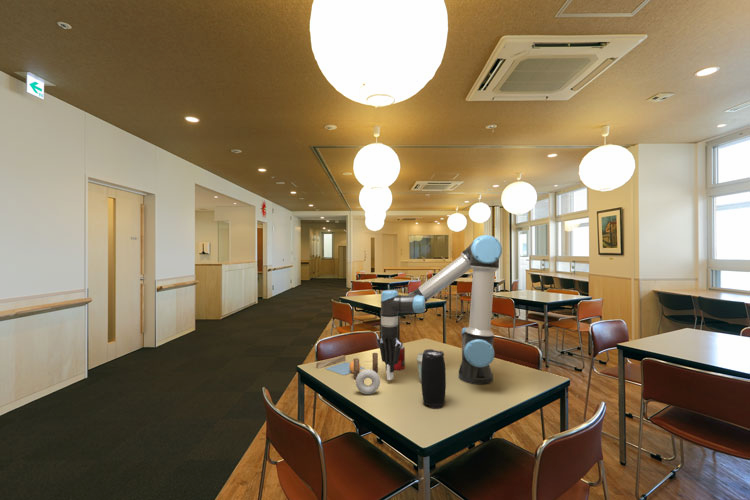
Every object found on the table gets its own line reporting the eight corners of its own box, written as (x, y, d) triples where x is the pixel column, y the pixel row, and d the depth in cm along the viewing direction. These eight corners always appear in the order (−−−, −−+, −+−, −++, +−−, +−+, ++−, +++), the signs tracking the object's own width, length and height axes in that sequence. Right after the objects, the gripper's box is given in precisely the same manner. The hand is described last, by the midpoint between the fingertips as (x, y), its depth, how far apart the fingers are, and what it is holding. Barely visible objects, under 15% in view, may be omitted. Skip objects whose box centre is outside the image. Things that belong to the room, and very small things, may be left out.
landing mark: (364, 368, 166) (364, 367, 166) (343, 375, 155) (343, 374, 155) (346, 362, 175) (346, 362, 175) (325, 368, 165) (325, 368, 165)
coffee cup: (424, 377, 152) (424, 351, 152) (439, 382, 146) (439, 354, 146) (412, 382, 146) (412, 355, 146) (428, 387, 140) (428, 359, 140)
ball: (357, 357, 162) (353, 365, 164) (349, 360, 158) (345, 368, 160) (364, 364, 159) (360, 373, 161) (356, 367, 155) (352, 376, 157)
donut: (355, 396, 131) (355, 370, 132) (355, 392, 135) (355, 368, 135) (380, 395, 131) (380, 370, 132) (380, 392, 135) (379, 367, 135)
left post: (360, 378, 150) (360, 359, 151) (356, 380, 149) (356, 360, 149) (356, 377, 152) (356, 358, 153) (352, 379, 150) (352, 359, 151)
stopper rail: (345, 360, 179) (345, 355, 179) (318, 368, 166) (318, 363, 166) (342, 359, 180) (342, 355, 180) (316, 367, 167) (316, 362, 167)
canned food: (405, 370, 161) (405, 348, 162) (389, 370, 162) (388, 348, 162) (404, 365, 169) (404, 344, 169) (388, 365, 169) (388, 344, 170)
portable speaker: (449, 403, 124) (449, 351, 125) (437, 412, 117) (436, 356, 118) (430, 397, 130) (429, 347, 130) (417, 405, 123) (416, 352, 123)
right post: (379, 372, 160) (378, 353, 160) (375, 373, 158) (375, 354, 158) (375, 370, 161) (375, 352, 162) (371, 372, 159) (371, 353, 160)
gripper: (406, 326, 144) (407, 380, 143) (384, 322, 153) (384, 373, 152) (395, 328, 138) (396, 385, 138) (373, 324, 147) (373, 377, 146)
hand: (390, 379), depth 145 cm, fingers closed
